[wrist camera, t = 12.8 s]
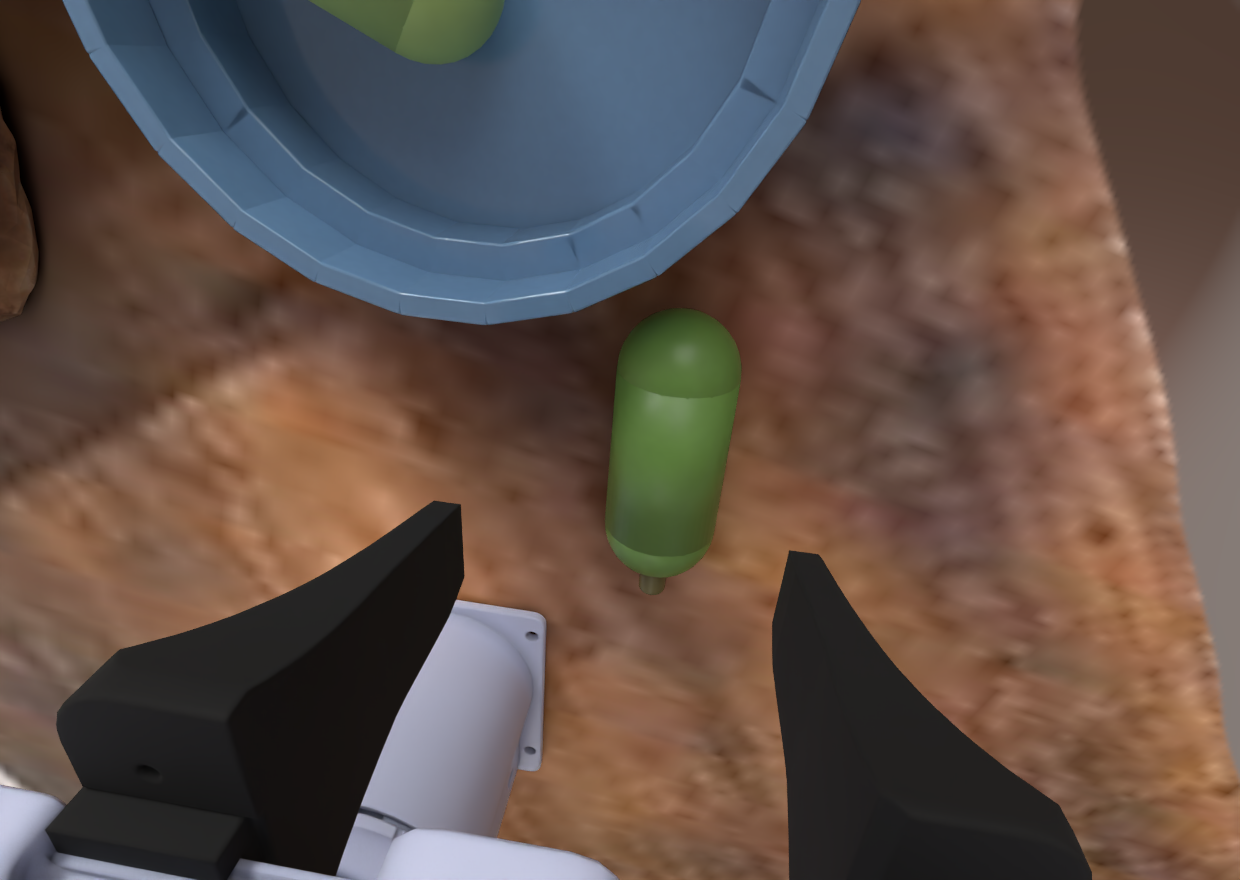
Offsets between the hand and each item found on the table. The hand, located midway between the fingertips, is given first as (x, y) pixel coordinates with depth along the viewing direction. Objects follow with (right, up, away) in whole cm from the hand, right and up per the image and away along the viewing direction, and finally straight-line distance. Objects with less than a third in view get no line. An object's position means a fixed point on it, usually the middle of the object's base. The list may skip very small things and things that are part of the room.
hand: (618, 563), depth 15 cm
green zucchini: (+2, +3, +8) cm, 9 cm away
